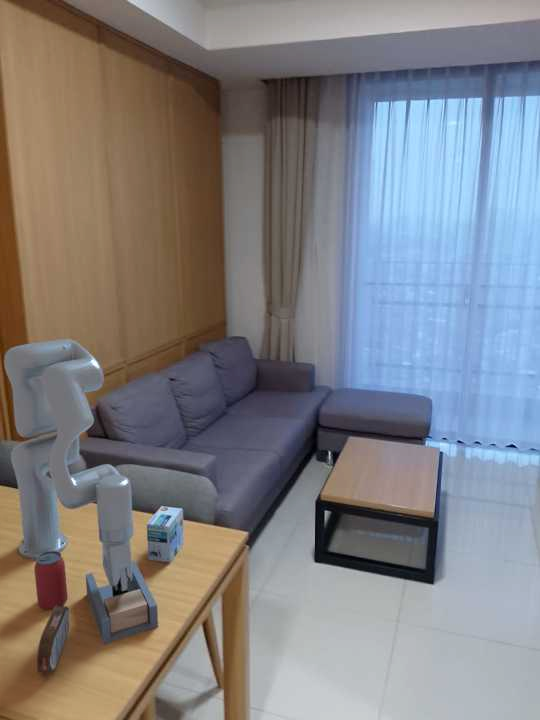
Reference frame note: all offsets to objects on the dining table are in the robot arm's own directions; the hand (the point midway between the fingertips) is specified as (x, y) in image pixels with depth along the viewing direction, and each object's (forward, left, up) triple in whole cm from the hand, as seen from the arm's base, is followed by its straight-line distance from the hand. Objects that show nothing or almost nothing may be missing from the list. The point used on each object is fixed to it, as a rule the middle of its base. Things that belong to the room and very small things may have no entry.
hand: (120, 601), depth 130 cm
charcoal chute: (0, 0, -2) cm, 2 cm away
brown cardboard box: (+5, 0, -1) cm, 6 cm away
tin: (+8, -15, -3) cm, 18 cm away
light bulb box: (-19, +17, -3) cm, 26 cm away
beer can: (-10, -14, -2) cm, 17 cm away
